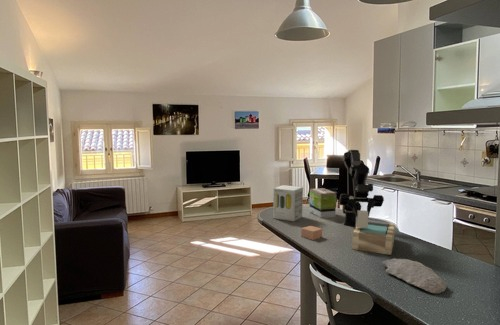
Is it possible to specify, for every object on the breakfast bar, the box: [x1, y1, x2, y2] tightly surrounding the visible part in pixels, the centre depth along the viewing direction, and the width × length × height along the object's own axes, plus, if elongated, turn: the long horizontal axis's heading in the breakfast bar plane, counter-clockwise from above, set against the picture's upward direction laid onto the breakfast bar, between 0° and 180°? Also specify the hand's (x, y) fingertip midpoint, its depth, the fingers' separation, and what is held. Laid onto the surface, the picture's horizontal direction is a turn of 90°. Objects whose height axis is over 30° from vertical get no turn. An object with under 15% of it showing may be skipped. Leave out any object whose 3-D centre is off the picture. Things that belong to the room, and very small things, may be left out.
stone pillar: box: [355, 209, 369, 228], centre depth 157 cm, size 4×4×7 cm
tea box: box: [308, 187, 337, 219], centre depth 211 cm, size 15×10×15 cm
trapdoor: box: [361, 219, 389, 235], centre depth 159 cm, size 18×10×3 cm, turn 155°
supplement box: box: [272, 184, 304, 222], centre depth 203 cm, size 13×13×18 cm
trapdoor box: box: [351, 222, 396, 256], centre depth 160 cm, size 23×16×7 cm
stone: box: [381, 258, 447, 294], centre depth 124 cm, size 16×6×25 cm
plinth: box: [300, 225, 323, 241], centre depth 169 cm, size 7×7×4 cm
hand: (362, 216), depth 156 cm, fingers closed on stone pillar, 4 cm apart
